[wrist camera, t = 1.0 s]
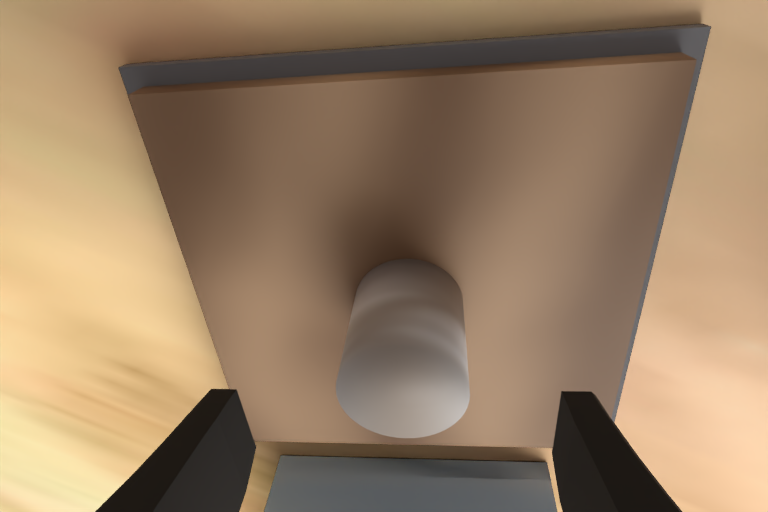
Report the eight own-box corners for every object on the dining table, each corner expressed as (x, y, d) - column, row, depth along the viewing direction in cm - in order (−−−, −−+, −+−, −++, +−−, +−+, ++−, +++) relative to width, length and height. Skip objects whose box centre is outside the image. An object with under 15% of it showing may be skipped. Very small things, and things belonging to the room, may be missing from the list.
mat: (702, 24, 11) (711, 26, 11) (607, 430, 19) (610, 439, 19) (126, 64, 13) (118, 67, 13) (247, 423, 20) (244, 431, 20)
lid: (681, 52, 11) (794, 107, 8) (597, 430, 18) (637, 551, 15) (143, 86, 13) (30, 145, 9) (253, 423, 20) (213, 532, 16)
